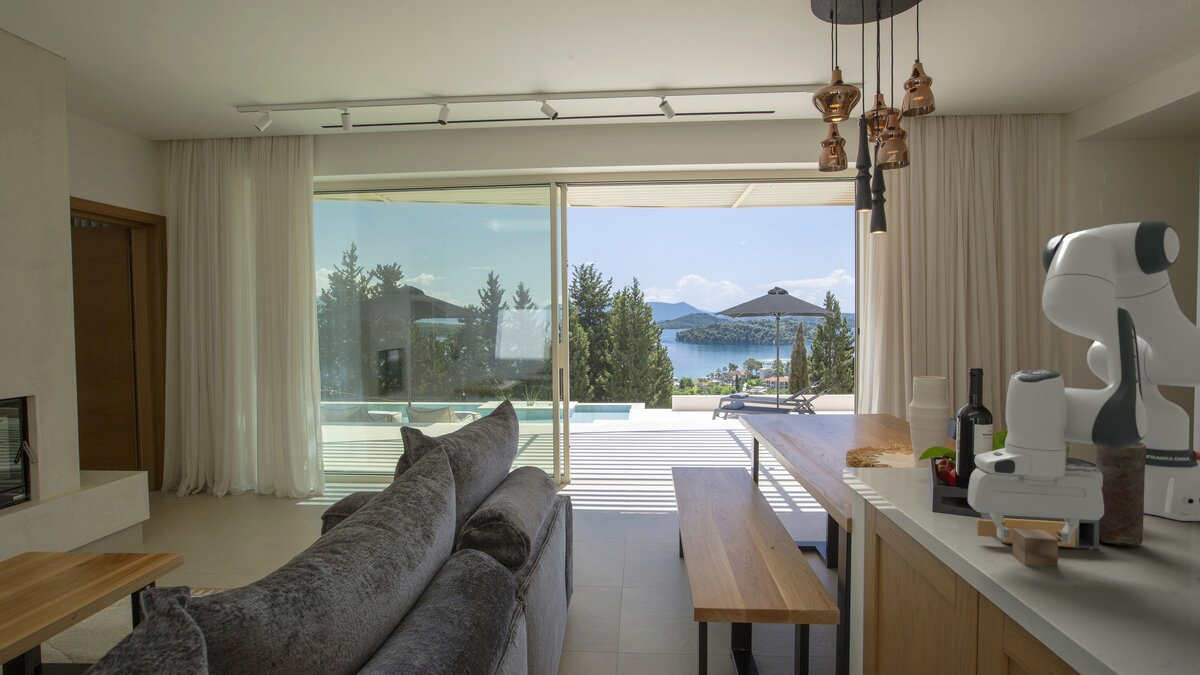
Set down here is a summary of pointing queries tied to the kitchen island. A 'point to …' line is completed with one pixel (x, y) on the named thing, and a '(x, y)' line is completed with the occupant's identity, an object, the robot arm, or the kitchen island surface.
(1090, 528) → the grey box
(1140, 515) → the candle
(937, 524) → the kitchen island surface
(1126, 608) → the kitchen island surface
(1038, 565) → the walnut block
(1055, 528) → the side door
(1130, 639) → the kitchen island surface
